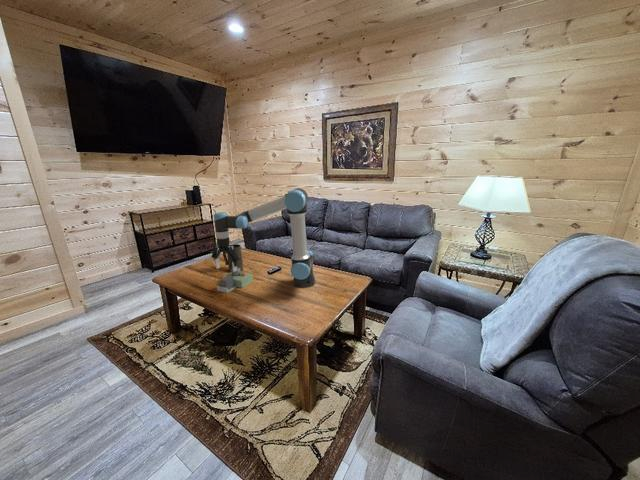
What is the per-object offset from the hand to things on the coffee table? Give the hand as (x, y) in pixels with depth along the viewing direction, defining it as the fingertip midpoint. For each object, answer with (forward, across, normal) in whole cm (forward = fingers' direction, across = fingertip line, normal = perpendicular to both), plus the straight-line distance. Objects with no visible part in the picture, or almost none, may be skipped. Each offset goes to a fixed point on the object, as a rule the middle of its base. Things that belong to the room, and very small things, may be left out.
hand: (226, 269), depth 169 cm
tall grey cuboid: (+13, +1, 0) cm, 13 cm away
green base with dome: (+13, +1, -5) cm, 14 cm away
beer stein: (+13, +19, -26) cm, 35 cm away
